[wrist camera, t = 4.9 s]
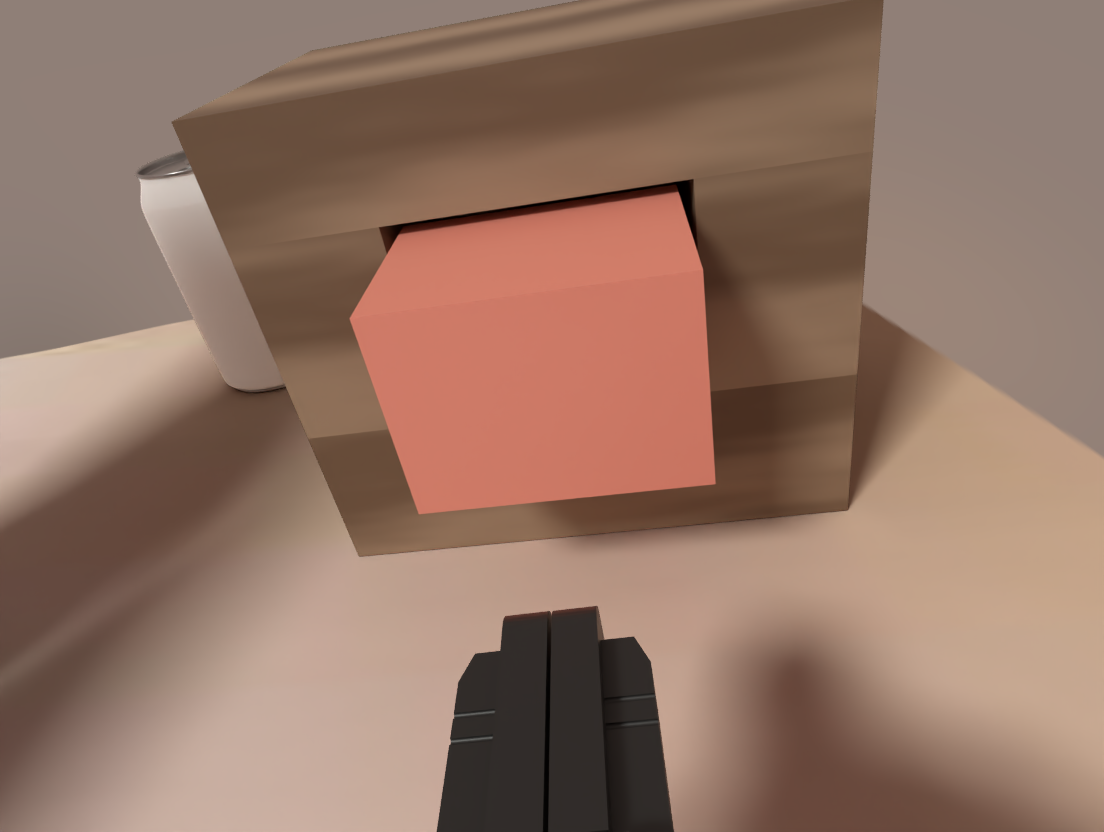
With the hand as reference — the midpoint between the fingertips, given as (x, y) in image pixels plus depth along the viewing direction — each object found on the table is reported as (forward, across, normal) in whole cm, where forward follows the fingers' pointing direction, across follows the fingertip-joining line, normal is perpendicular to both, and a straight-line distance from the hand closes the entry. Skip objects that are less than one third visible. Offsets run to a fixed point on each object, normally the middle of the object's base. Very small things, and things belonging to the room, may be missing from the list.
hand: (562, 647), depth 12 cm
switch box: (+19, 0, -8) cm, 20 cm away
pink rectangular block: (+10, 0, -2) cm, 11 cm away
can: (+30, -18, -8) cm, 36 cm away
